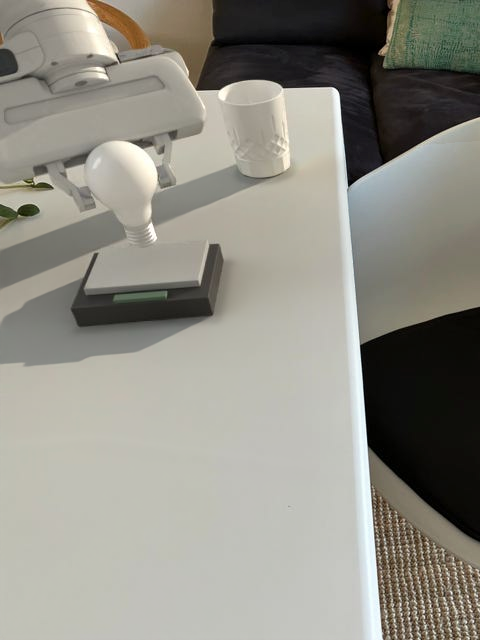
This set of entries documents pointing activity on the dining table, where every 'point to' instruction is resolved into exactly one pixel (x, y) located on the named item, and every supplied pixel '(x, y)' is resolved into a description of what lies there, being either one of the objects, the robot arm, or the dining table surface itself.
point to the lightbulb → (124, 187)
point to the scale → (149, 283)
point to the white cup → (256, 126)
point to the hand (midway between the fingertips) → (128, 196)
